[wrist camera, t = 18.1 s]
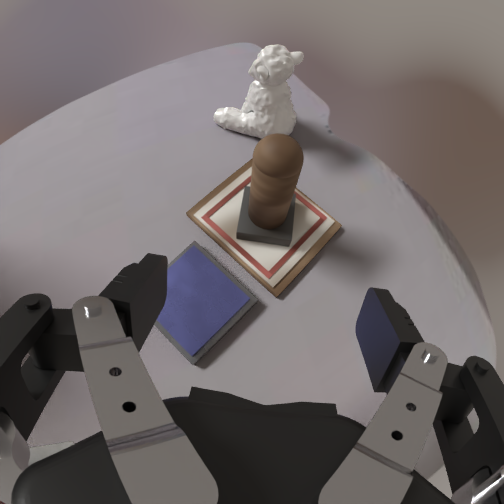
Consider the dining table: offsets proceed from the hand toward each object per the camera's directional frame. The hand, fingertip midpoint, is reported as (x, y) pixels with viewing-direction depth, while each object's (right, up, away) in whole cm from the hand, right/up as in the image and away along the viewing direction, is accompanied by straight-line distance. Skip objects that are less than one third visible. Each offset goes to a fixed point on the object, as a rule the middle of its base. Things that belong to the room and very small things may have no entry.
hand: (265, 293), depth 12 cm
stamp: (+1, +5, +18) cm, 19 cm away
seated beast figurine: (+1, +17, +25) cm, 30 cm away
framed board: (+1, +5, +19) cm, 20 cm away
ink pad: (-6, -3, +16) cm, 17 cm away
